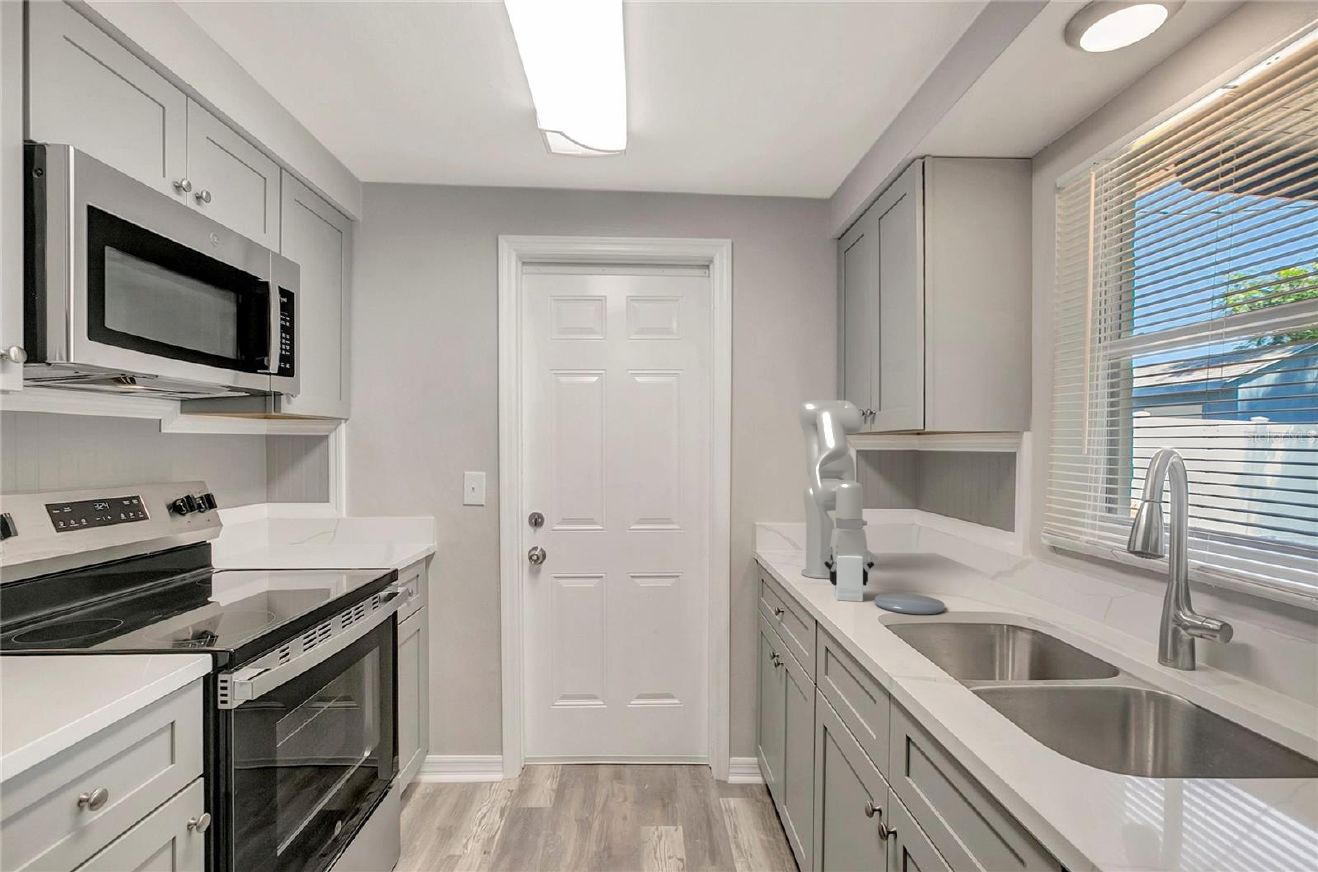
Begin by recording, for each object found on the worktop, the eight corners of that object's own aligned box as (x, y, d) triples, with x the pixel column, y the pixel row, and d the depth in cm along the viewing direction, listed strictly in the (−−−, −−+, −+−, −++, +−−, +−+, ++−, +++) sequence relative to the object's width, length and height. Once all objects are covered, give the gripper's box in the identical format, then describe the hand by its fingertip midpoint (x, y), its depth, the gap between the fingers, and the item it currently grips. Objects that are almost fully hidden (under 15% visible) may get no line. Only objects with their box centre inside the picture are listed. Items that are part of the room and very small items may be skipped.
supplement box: (863, 601, 178) (863, 557, 178) (836, 600, 179) (836, 556, 180) (860, 595, 185) (860, 553, 185) (834, 594, 187) (834, 552, 187)
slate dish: (865, 598, 182) (865, 593, 182) (927, 598, 182) (927, 593, 182) (888, 615, 164) (888, 609, 164) (956, 615, 164) (956, 609, 164)
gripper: (874, 523, 186) (874, 581, 186) (815, 522, 186) (815, 581, 186) (883, 526, 179) (883, 587, 179) (822, 526, 179) (822, 587, 179)
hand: (848, 584), depth 182 cm, fingers closed on supplement box, 8 cm apart
